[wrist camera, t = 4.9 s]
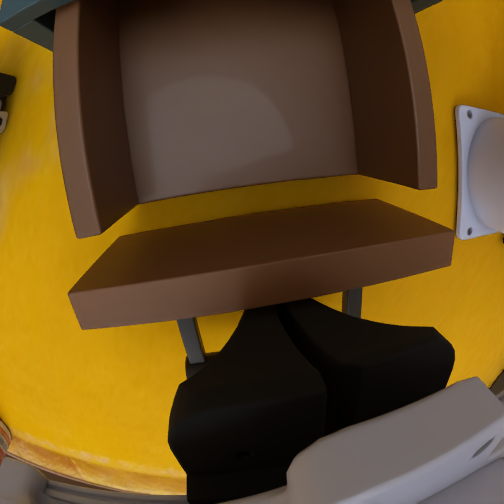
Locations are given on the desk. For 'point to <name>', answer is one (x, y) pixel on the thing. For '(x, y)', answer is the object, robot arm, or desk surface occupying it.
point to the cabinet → (45, 3)
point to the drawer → (241, 151)
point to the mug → (498, 385)
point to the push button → (5, 95)
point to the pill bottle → (4, 440)
